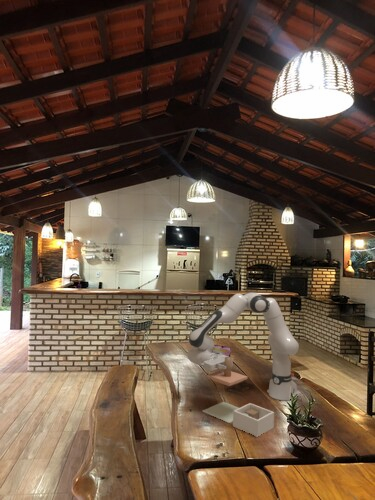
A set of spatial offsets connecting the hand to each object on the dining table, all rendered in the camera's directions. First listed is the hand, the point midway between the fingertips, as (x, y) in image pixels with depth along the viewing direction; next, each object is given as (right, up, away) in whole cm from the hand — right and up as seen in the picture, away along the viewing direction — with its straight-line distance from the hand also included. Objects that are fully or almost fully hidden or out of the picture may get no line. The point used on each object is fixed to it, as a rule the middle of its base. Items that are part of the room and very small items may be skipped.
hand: (229, 366), depth 211 cm
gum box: (-1, -25, +91) cm, 94 cm away
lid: (-1, -8, +1) cm, 8 cm away
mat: (-2, -26, +1) cm, 26 cm away
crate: (+11, -26, -15) cm, 32 cm away
